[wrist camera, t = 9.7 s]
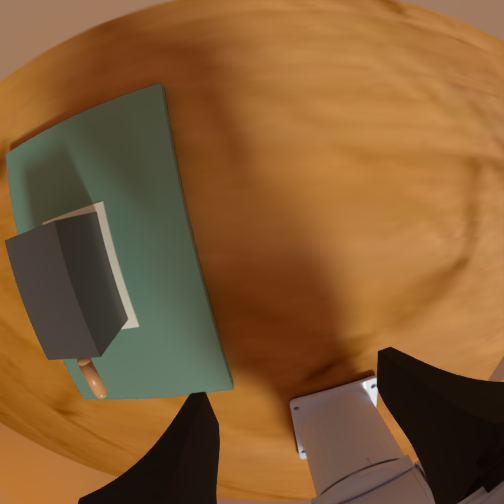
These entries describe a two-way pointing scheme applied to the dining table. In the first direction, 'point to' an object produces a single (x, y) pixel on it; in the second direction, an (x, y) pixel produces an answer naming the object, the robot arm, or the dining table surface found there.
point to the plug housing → (69, 291)
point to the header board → (129, 241)
